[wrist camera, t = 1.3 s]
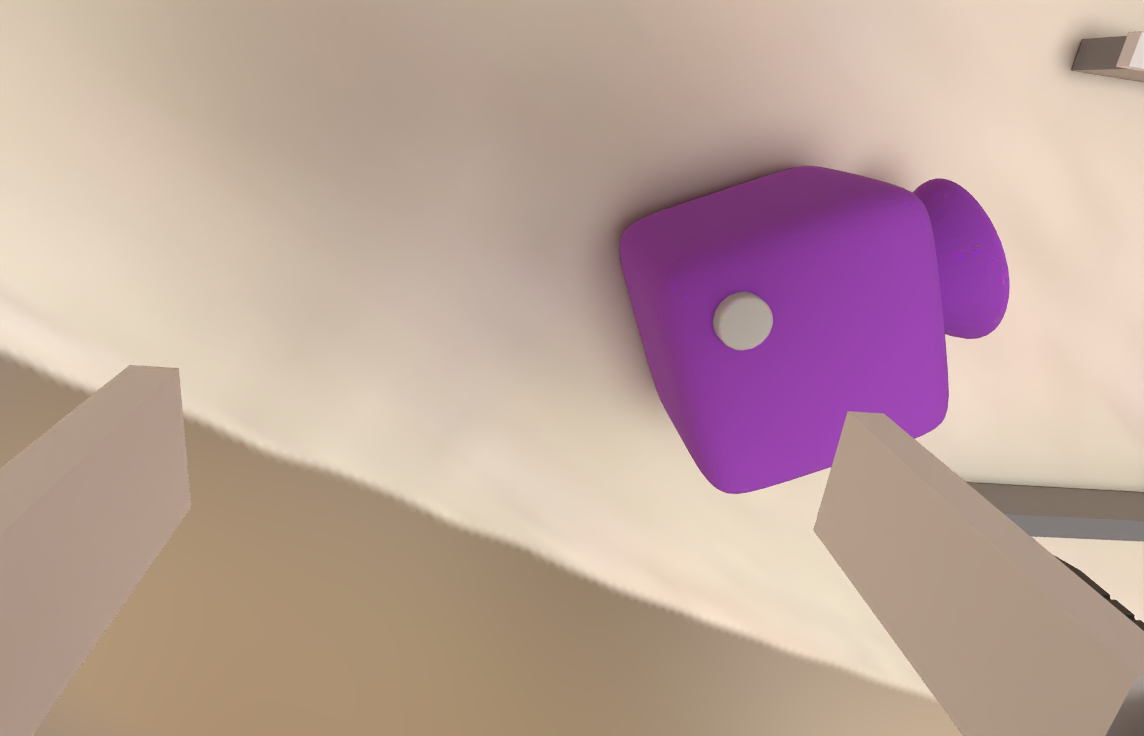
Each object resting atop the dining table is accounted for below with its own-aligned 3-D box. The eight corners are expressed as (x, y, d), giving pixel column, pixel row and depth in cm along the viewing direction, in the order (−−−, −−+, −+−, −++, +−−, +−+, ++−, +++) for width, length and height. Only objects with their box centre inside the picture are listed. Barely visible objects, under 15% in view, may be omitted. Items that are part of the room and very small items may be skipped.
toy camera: (936, 300, 33) (1109, 382, 24) (678, 435, 34) (749, 563, 25) (865, 82, 29) (1042, 80, 20) (575, 243, 30) (615, 313, 21)
